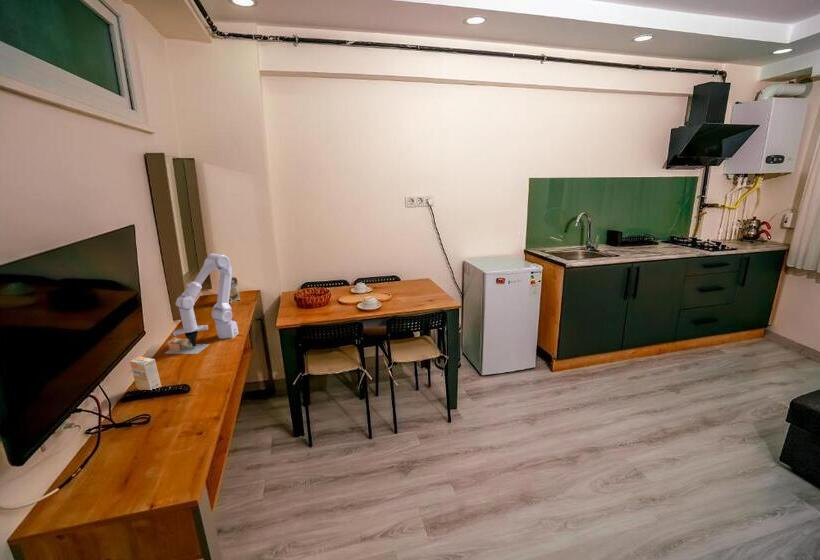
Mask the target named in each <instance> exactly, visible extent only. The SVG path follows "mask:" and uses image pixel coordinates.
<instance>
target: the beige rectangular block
mask: <svg viewBox="0 0 820 560" xmlns="http://www.w3.org/2000/svg"><path fill="white" fill-rule="evenodd" d="M172 342H173V344H179V345H180V349H190V348H191V347H193V346H192V344H191V342H190V341H189V340H188V339H187V338H177V339H175V340H174V341H172Z"/></svg>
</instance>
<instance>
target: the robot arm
mask: <svg viewBox="0 0 820 560" xmlns="http://www.w3.org/2000/svg"><path fill="white" fill-rule="evenodd" d="M216 270H217V271H218V272H219V274H220V275H219V280H218V282H219V283H218V291H217V298H216V299H217V301H216V303H215V304H214V305H213V308H212V311H211V313H210V315H211V317H212V319H214V323H215V327H216V329H215V330H216V335H217V337H218V339H221V340H222V339H233V338H235V337H236V336H237V335H239V328H238V322H237V321H235V320H232V318H233V312H232V306H231V304H229V296H230V288H231V279H232V277H233V268H232V264H231V259H230V258H229V257H228V256H227V255H225V254H219V253H214V252H212V253H210V254H208V255H207V257H206V258H205V259H204V262H203V265H202V267H201V269H200V271H199V273H198V274H197V276H196V277H195V279H194V281H190V282H189V283H187V284H186V288H185V289H184V291H183V292H182V293H181V294H180V296H178V297H177V298H176V302H175V306H176V307H178V310H179V315H180V318H181V323H182V327H183V328H181V329H177V330H173V331H172V333H173V334H172V335H173V336H174V337H177V336H178V335H179V336H180V335H185V336H184V337H185V339H188V340H189V341H190V342H191V344H192V346H193V347H194V346H196V344H197V343H196V342H197V337H198V332H200V331H208V330H209V325H208V324H205V325H203V324H201V325H198V324H197V320H196V319H197V318H196V314H195V311H194V306H195V302H196V298H197V296H198V295H199V294H200V293H201V290H202V289H203V287H202V286H203V283H204V282H205V281H206V279H207V278H208V276H209V275H210V273H211V272H214V271H216Z"/></svg>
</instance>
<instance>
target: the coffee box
mask: <svg viewBox="0 0 820 560" xmlns="http://www.w3.org/2000/svg"><path fill="white" fill-rule="evenodd" d="M238 285H239V284H238V278H237V277H235V276H232V279H231V288H230V296H229V303H231V304H233V303H232V302H234V301H237V300H240V301H241V297H240V296H241V295H240V289H239V286H238ZM237 302H238V301H237ZM234 303H235V302H234Z"/></svg>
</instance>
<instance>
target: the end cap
mask: <svg viewBox="0 0 820 560" xmlns="http://www.w3.org/2000/svg"><path fill="white" fill-rule="evenodd" d="M175 339H178V336H174V337H172V338H171V339H170V340H168V341H167V342H166V344H167V348H168V350H173V351H180V350H181V349H180V345H179V344H173V342H172V341H174V340H175Z"/></svg>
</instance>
